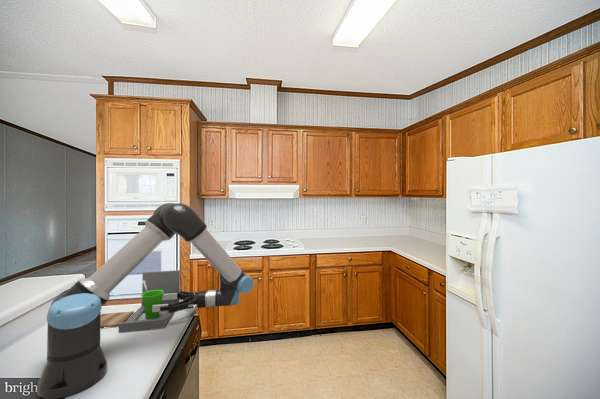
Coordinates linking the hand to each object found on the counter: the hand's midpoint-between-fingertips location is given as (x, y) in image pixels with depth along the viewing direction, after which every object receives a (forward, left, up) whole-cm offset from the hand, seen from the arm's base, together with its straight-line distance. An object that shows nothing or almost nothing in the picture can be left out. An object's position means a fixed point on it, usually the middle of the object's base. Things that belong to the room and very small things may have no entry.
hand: (157, 302), depth 115 cm
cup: (+1, +2, -7) cm, 7 cm away
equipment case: (+1, +2, -6) cm, 7 cm away
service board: (+13, +13, -6) cm, 19 cm away
